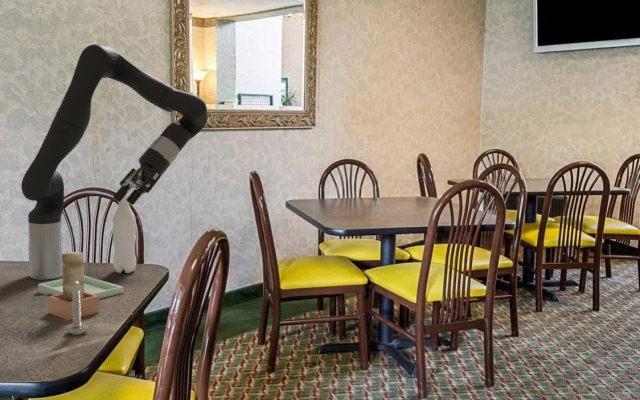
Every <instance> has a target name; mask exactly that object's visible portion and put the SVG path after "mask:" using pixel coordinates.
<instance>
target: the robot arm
mask: <svg viewBox="0 0 640 400" xmlns="http://www.w3.org/2000/svg"><path fill="white" fill-rule="evenodd" d="M107 78H108V79H110V80H113V81H116V82H119V83H121V84H123V85H126V86H128V87H129V88H131V89H132V90H133V91H134V92H136V94H138V95H139V96H140V97H141V98H142V99H144V100H145V101H147V102H149V103H151V104H152V105H154V106H155V107H158V108H159V109H161V110H162V111H165V112H168V113H172V112H174V111H175V112H177V113H180V114H181V115H182V116H181V117H180V119H179V120H178V121H177V122H172V123H170V124H169V125H167V127H165V129H164V130H163V131H162V132H161V133H160V135H159V136H158V137H157V138H156V139H155V140H153V141H152V143H151V144H150V145H149V147H147V148H146V150H145V151H144V152H143V154H142V155H141V156H140V157H139V158H138V163H139V165H140V167H139V168H138V169H136V168H134V167H133V168H131V169H130V170H129V172H128V173H127V174H126V175H125V176H124V177H123V178H122V180H121V181H120V182H119V185H120V188H119V189H118V190H116V192H115V194H114V195H113V197H112V198H113V200H115V202H117V203H118V202H120V201H121V200H122V199H123V198H124V196H125V195H129V197H128V198H127V201H128V202H129V205H133V206H134V205H135V203H137V201H138V200H139V198H140V197H141V196H142V195H145V193H146V194H149V192H150V191H151V190H152V189H153V188H154V186H155V185H156V184H157V182H159V180H160V179H161V177H162V176H163V175H164V174H165V172H166V171H167V170H168V169H169V167H170V166H171V165H172V164H173V162H174V161H175V160H176V158H177V157H178V155H179V154H180V152H181V151H182V149H183V148H184V147H185V146H186V145H187V143H188V142H189V141H190V140H191V139H193V138H194V137H195V136H197V134H198V133H200V132H201V131H202V130H203V129H204V127H205V125H206V124H207V122H208V108H207V104H206V103H205V101H204V100H203V99H202V98H201V97H200V96H198V95H196V94H192V93H190V92H186V91H183V90H179V89H177V88H175V87H173V86H172V85H169V84H168V83H166V82H164V81H162V80H161V79H158V78H156V77H155V76H153V75H151V74H149V73H148V72H146V71H144V70H142V69H141V68H139V67H137V66H136V65H135V64H133V63H131V61H129V60H128V59H127V58H125V57H124V56H123V55H122V54H120V53H119V52H118V51H117V50H115V49H114V48H113V47H111V46H107V45H101V44H90V45H88V46H86V47H85V48H84V49H83V50H82V52H81V53H80V55H79V58H78V61H77V62H76V67H75V69H74V72H73V75H72V78H71V81H70V83H69V86H68V88H67V90H66V92H65V94H64V97H63V98H62V101H61V104H60V105H59V107H58V109H57V111H56V113H55V116H54V118H53V119H52V122H51V124H50V126H49V129H48V131H47V133H46V135H45V138H44V140H43V141H42V144H41V146H40V148H39V150H38V151H37V154H36V156H35V157H34V159H33V160H32V162H31V164H30V166H29V167H28V168H27V170H26V171H25V173H24V175H23V177H22V180H21V187H20V188H21V191H22V195H23V196H24V197H25V199H27V200H29V201H33V202H36V204H35V206H34V207H33V209H32V210H30V211H29V212H28V214H27V215H28V217H27V219H28V220H27V222H28V269H29V270H28V271H29V272H28V274H29V277H30V278H31V279H33V280H38V281H39V280H52V279H58V278H60V277H63V276H62V254H63V247H62V246H63V244H62V243H63V242H62V214H63V212H64V207H65V202H64V201H65V183H64V179H63V177H62V175H61V173H60V172H59V171H57V169H58V167H59V166H60V164H61V163H62V161H63V160H64V159H65V158H66V157H67V156H68V155H69V154H70V153H71V152H72V151H74V149H75V148H76V147H77V145H78V144H79V143H80V142H81V140H82V139H83V137H84V134H85V133H86V130H87V129H88V126H89V123H90V119H91V114H92V113H91V112H92V99H93V96H94V93H95V91H96V90H97V87H98V85H99V84H100V83H101V82H100V81H101V80H102V79H107ZM132 189H133V191H132V192H131V193H130V194H128V193H129V192H130V191H131V190H132Z"/></svg>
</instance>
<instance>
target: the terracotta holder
mask: <svg viewBox="0 0 640 400" xmlns="http://www.w3.org/2000/svg"><path fill="white" fill-rule="evenodd" d="M47 299H48V314H50V315H53V316H56V317H59V318H61V319H64V320H66V321H70V320H71V321H73V317H72V316H73V312H72V311H73V309H72V308H73V307H72V306H73V304H72V303H73V302H72V301H71V302H67V301H65V300H63V294H58V295H50V296H48V298H47ZM80 301H81V302H80V304H81V305H80V306H81V307H80V309H81V310H80V311H81V313H80V314H81V315H80V316H81V318H82V317H86V316H91V315H94V314H99V313H100V299H99V296H97V295H94V294H91V293H88V292H85V291H84V299H81V300H80Z"/></svg>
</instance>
